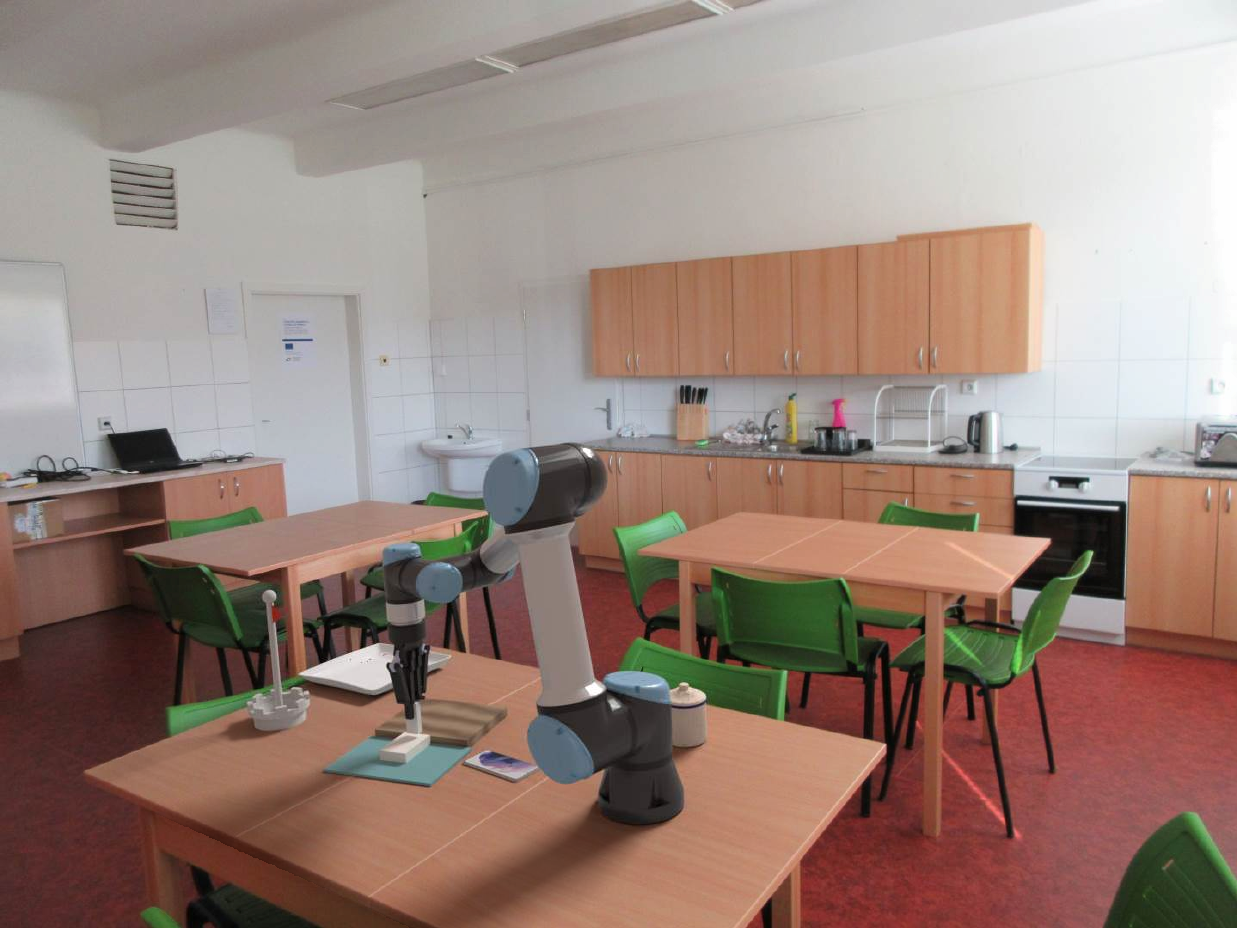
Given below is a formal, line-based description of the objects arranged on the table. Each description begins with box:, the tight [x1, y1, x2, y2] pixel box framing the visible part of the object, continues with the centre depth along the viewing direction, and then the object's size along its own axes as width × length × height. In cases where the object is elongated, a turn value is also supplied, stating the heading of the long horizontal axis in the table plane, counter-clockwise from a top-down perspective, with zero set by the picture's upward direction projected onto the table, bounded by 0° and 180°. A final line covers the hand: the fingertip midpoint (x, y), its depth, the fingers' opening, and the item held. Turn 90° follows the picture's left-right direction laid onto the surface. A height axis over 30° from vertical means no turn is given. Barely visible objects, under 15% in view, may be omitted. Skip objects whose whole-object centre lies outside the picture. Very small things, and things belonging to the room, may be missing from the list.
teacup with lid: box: [670, 682, 708, 748], centre depth 187 cm, size 12×9×12 cm
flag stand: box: [246, 589, 311, 732], centre depth 204 cm, size 13×13×30 cm
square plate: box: [298, 642, 452, 696], centre depth 232 cm, size 27×27×4 cm
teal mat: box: [322, 735, 473, 787], centre depth 183 cm, size 16×24×1 cm, turn 70°
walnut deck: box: [374, 697, 509, 748], centre depth 199 cm, size 18×22×2 cm
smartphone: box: [462, 749, 541, 783], centre depth 179 cm, size 7×1×15 cm
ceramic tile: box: [379, 732, 431, 763], centre depth 186 cm, size 9×6×2 cm, turn 160°
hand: (414, 731), depth 188 cm, fingers closed
